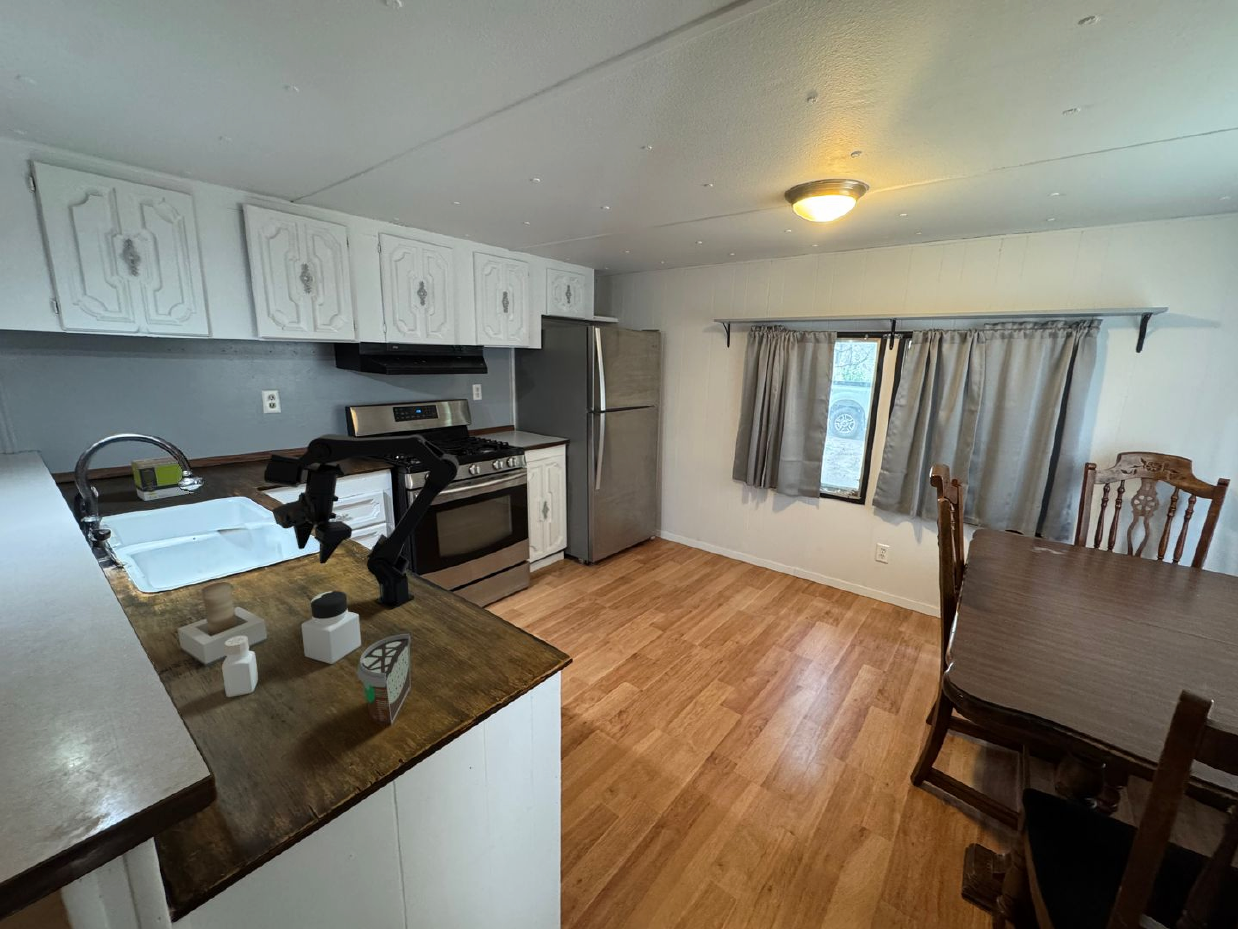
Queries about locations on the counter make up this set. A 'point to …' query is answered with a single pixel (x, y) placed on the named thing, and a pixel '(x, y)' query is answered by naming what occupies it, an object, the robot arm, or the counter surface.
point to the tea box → (157, 478)
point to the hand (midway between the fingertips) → (311, 555)
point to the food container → (386, 676)
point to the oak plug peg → (219, 607)
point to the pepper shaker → (239, 667)
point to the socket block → (220, 637)
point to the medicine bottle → (330, 628)
